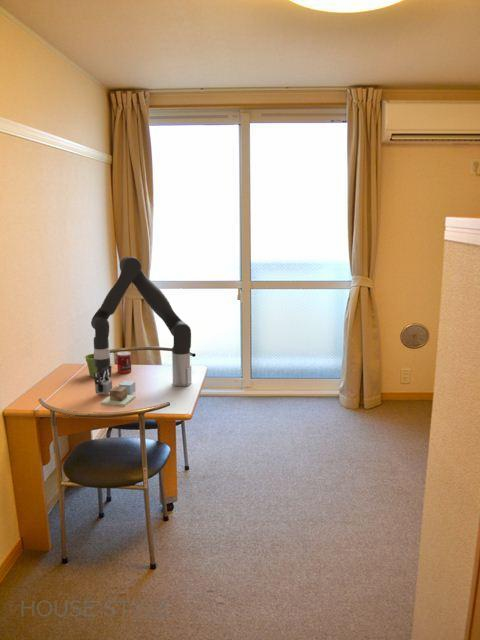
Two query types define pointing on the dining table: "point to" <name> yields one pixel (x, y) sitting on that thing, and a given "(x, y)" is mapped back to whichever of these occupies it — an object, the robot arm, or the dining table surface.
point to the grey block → (104, 387)
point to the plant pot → (91, 364)
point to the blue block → (128, 386)
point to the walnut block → (118, 393)
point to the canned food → (124, 362)
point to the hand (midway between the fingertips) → (103, 389)
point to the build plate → (121, 403)
